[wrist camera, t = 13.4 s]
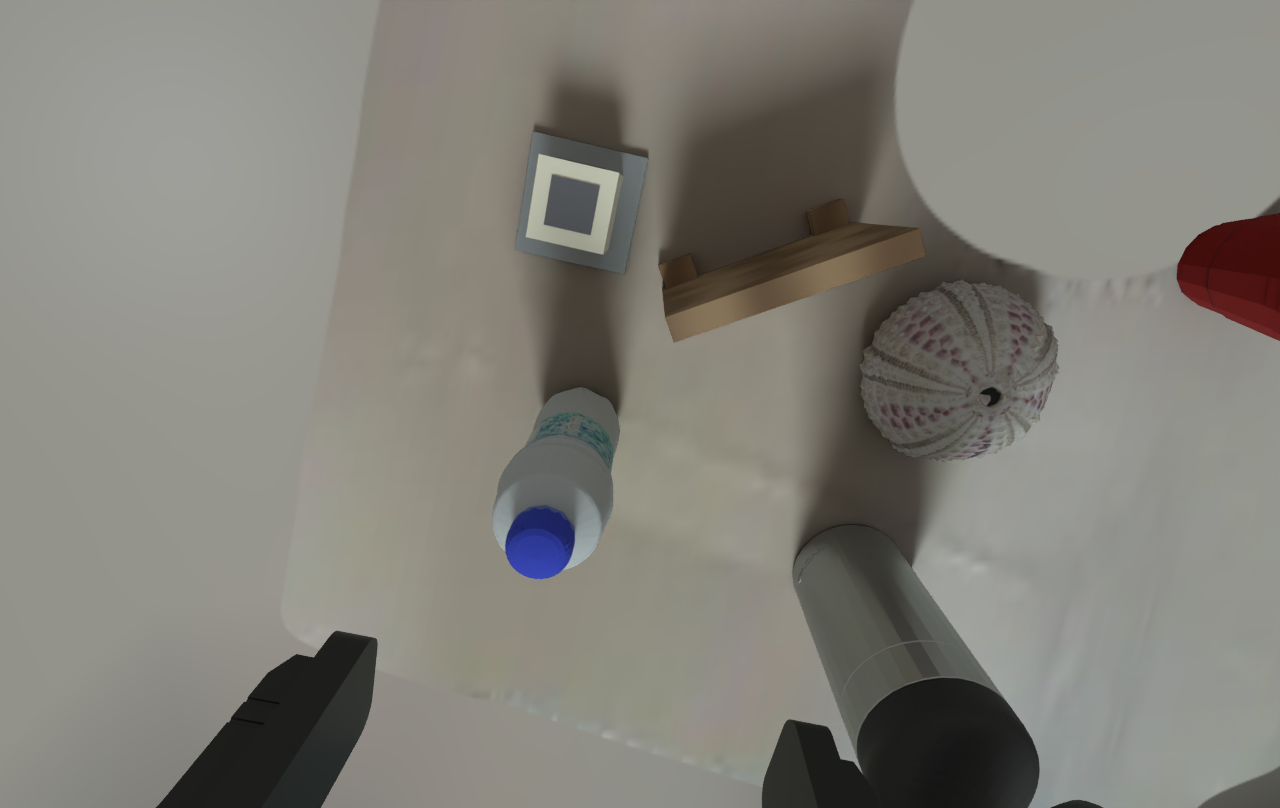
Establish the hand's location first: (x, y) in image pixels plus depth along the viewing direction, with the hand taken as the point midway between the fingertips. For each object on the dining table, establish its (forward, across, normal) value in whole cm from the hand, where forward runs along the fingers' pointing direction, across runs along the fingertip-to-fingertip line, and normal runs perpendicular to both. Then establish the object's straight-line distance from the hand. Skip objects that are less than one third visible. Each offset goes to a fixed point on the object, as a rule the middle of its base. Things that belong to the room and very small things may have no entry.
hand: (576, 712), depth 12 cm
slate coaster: (+36, +6, -8) cm, 37 cm away
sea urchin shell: (+36, -23, -3) cm, 43 cm away
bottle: (+36, +3, +8) cm, 37 cm away
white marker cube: (+36, +6, -8) cm, 37 cm away
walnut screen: (+36, -8, -7) cm, 38 cm away
